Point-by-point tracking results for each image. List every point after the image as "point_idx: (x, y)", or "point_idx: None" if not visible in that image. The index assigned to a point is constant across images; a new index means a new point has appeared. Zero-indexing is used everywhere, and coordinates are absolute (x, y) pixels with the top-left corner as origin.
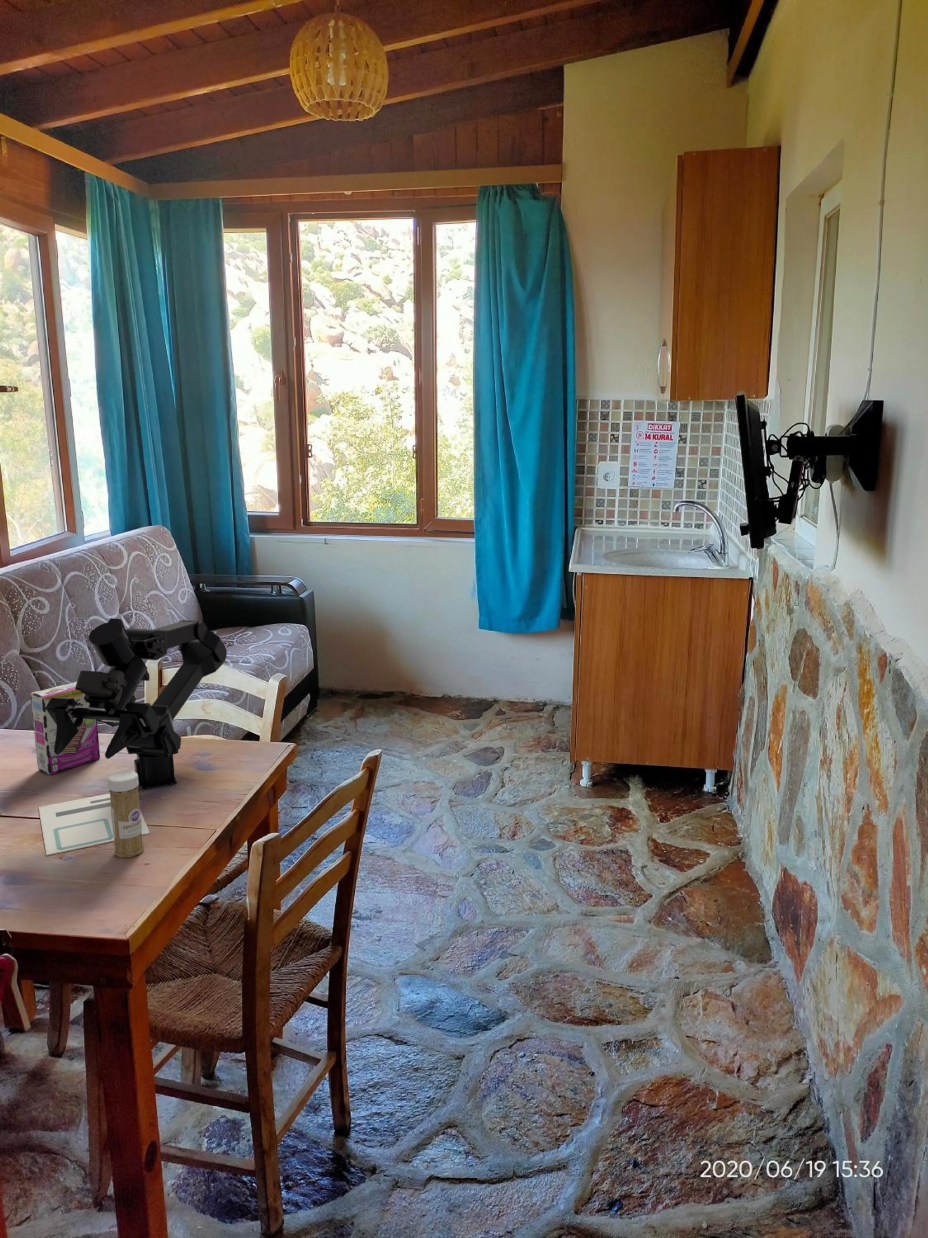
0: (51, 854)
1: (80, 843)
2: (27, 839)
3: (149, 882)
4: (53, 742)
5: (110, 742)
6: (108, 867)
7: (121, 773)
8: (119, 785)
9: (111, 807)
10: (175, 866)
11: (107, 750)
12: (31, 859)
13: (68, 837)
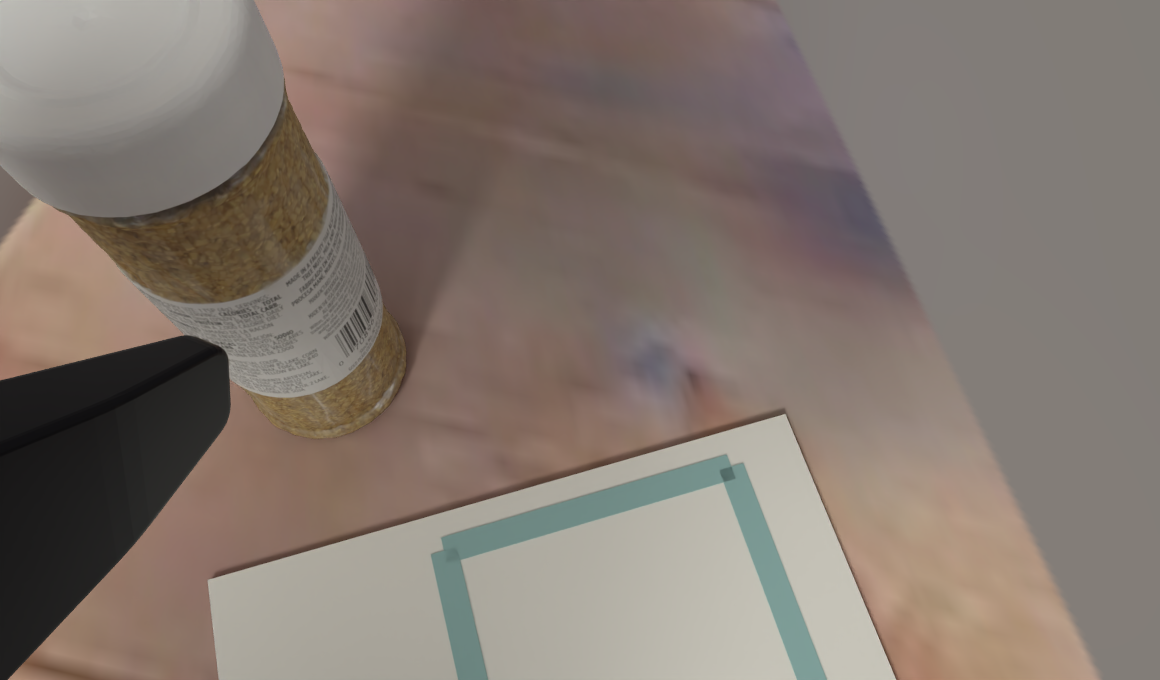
0: (760, 421)
1: (624, 518)
2: (991, 673)
3: None
4: None
5: (6, 440)
6: (430, 235)
7: (92, 65)
8: None
9: (322, 170)
10: None
11: (145, 369)
12: (855, 394)
13: (721, 622)
